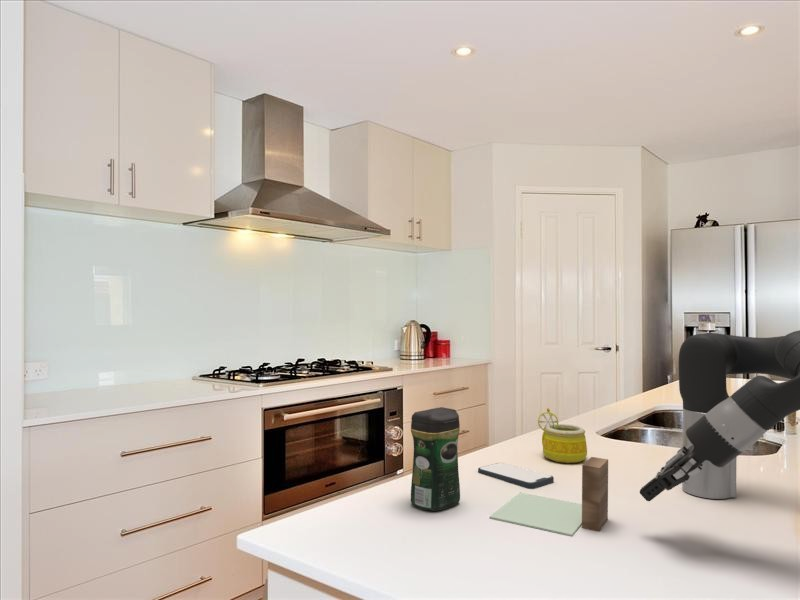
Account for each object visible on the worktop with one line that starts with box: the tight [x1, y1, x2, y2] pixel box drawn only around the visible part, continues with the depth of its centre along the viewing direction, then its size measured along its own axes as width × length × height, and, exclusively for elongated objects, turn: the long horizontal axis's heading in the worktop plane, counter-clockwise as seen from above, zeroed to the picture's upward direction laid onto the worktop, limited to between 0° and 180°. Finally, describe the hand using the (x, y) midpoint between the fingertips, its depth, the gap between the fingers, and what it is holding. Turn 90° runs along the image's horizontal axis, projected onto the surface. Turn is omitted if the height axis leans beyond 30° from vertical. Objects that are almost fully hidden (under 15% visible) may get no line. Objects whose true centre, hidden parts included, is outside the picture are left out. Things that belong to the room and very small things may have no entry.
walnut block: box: [581, 456, 609, 532], centre depth 104 cm, size 3×6×11 cm, turn 148°
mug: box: [537, 407, 588, 464], centre depth 148 cm, size 13×11×12 cm
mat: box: [489, 492, 582, 537], centre depth 109 cm, size 15×16×1 cm
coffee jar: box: [410, 406, 461, 512], centre depth 114 cm, size 10×8×19 cm
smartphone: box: [477, 462, 554, 490], centre depth 132 cm, size 9×2×16 cm
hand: (644, 495), depth 99 cm, fingers closed
